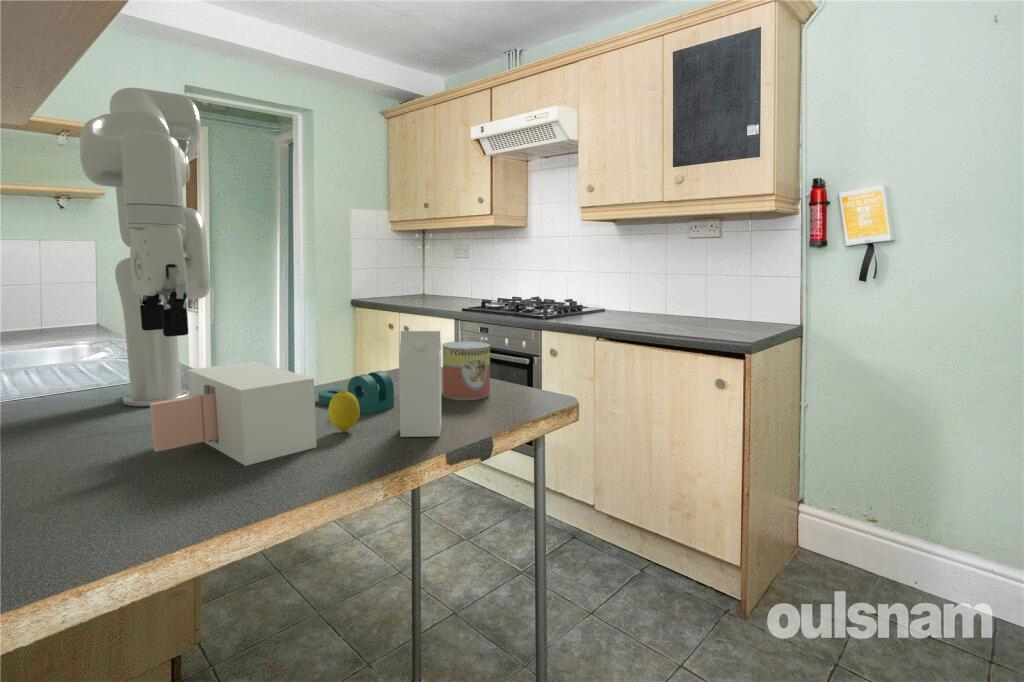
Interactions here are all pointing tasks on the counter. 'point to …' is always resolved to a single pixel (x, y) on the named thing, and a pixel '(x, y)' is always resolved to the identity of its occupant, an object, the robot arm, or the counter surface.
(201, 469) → the counter surface
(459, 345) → the canned food
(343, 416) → the lemon
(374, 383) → the bracket
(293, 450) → the ticket dispenser
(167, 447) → the strip
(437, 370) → the milk carton
